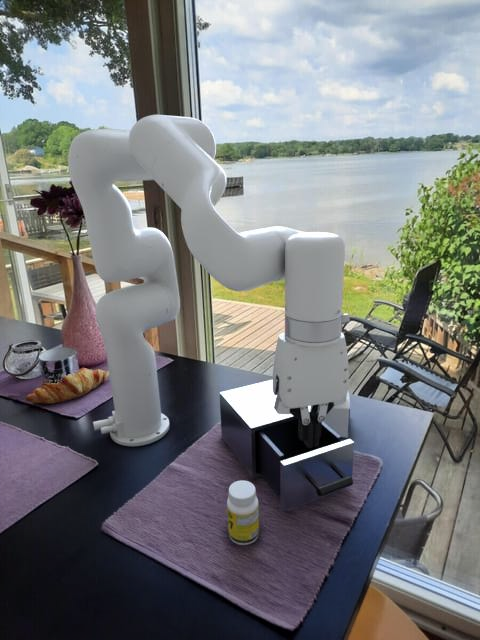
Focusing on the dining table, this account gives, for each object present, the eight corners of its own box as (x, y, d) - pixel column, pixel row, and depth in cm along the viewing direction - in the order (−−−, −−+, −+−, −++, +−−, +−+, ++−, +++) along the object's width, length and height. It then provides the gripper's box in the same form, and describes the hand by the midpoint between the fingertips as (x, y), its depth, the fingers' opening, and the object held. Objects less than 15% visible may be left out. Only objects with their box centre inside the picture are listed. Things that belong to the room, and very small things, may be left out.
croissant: (106, 387, 123) (96, 360, 123) (120, 381, 115) (110, 353, 115) (27, 415, 109) (16, 384, 109) (37, 411, 101) (26, 378, 102)
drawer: (370, 503, 72) (373, 458, 69) (299, 532, 66) (300, 484, 64) (308, 444, 87) (309, 405, 84) (247, 464, 82) (246, 423, 79)
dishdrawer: (320, 456, 85) (321, 408, 82) (252, 479, 79) (251, 428, 76) (282, 420, 98) (282, 377, 94) (221, 437, 92) (219, 392, 89)
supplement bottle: (227, 523, 70) (225, 479, 67) (257, 520, 70) (256, 476, 67) (229, 547, 65) (227, 501, 62) (261, 544, 66) (260, 499, 63)
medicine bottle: (348, 438, 90) (351, 386, 86) (313, 435, 92) (314, 383, 88) (347, 420, 97) (350, 370, 93) (314, 417, 98) (316, 368, 94)
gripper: (349, 312, 65) (343, 420, 71) (251, 323, 61) (253, 437, 67) (377, 328, 58) (367, 447, 64) (268, 343, 54) (269, 467, 60)
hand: (309, 442), depth 65 cm, fingers closed
